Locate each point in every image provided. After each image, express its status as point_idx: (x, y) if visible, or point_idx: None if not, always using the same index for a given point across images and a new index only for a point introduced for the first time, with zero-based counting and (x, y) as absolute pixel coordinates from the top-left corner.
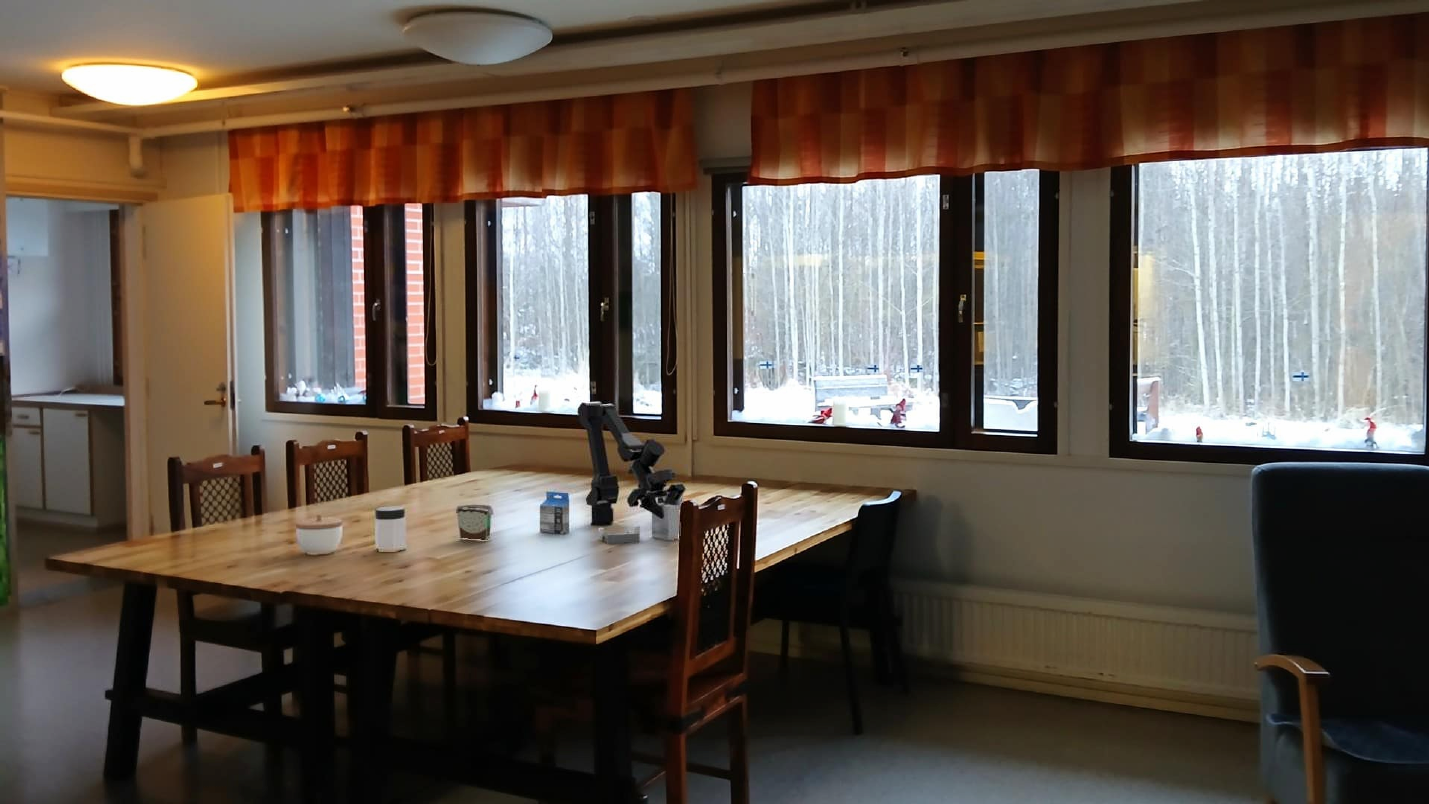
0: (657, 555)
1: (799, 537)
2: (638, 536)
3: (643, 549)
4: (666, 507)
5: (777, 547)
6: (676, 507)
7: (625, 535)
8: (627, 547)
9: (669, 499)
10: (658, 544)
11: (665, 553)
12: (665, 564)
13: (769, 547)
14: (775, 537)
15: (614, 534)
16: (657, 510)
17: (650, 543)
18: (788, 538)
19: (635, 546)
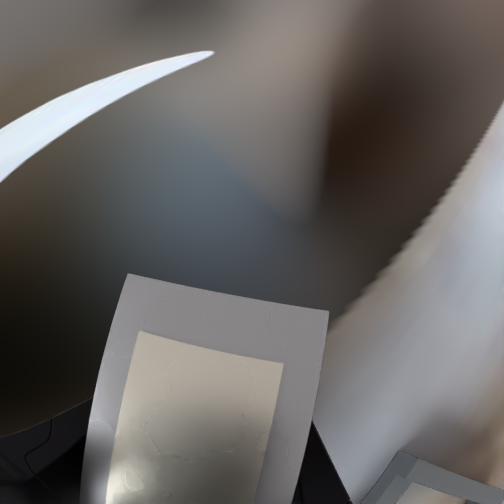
0: (482, 194)
1: (50, 105)
2: (412, 456)
3: (481, 297)
4: (322, 352)
5: (170, 62)
6: (188, 288)
7: (461, 476)
8: (496, 375)
9: (32, 496)
10: (385, 333)
11: (454, 191)
12: (491, 132)
13: (179, 67)
14: (56, 127)
15: (487, 494)
16: (335, 475)
17: (393, 381)
18: (63, 107)
19: (471, 371)
